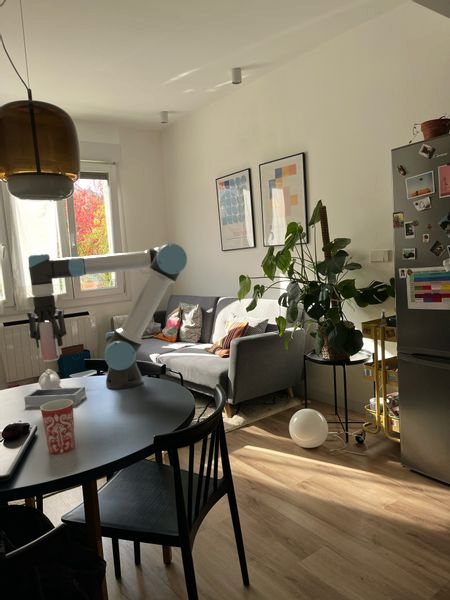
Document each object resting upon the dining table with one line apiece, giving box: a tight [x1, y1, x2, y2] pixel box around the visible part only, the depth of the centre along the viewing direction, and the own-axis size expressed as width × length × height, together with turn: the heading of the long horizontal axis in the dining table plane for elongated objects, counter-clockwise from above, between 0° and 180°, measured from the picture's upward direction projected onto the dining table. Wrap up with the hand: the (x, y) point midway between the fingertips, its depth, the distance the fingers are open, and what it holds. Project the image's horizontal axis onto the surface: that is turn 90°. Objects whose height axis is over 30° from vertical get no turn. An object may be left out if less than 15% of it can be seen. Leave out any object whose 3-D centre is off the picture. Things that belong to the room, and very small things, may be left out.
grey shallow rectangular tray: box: [24, 386, 87, 409], centre depth 176 cm, size 20×10×4 cm, turn 85°
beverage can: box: [39, 320, 60, 363], centre depth 173 cm, size 6×6×15 cm
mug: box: [39, 399, 76, 455], centre depth 133 cm, size 13×9×14 cm
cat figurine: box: [38, 368, 62, 389], centre depth 192 cm, size 10×8×15 cm
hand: (51, 355), depth 174 cm, fingers closed on beverage can, 6 cm apart
